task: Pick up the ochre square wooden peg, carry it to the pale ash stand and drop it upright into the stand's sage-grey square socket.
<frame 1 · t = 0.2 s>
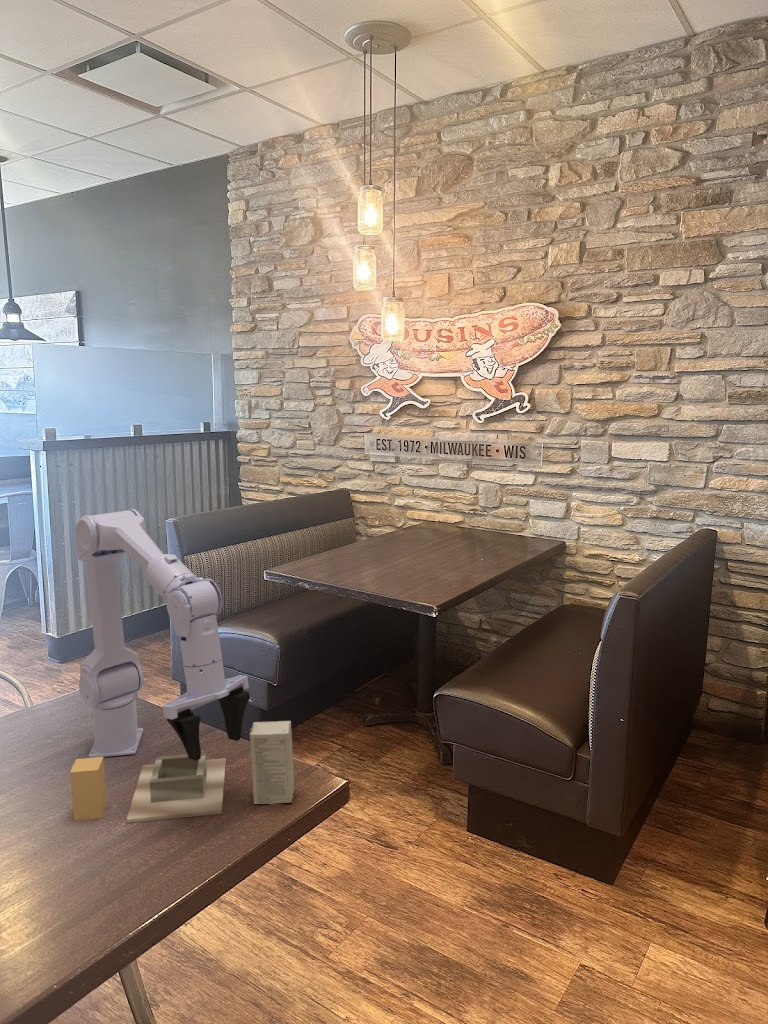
hand: (215, 748, 110), 11 cm above the table, tool pointing down, fingers open, 7 cm apart
socket stand: (180, 789, 118), on the table
peg: (90, 812, 112), on the table
skincare box: (273, 799, 116), on the table
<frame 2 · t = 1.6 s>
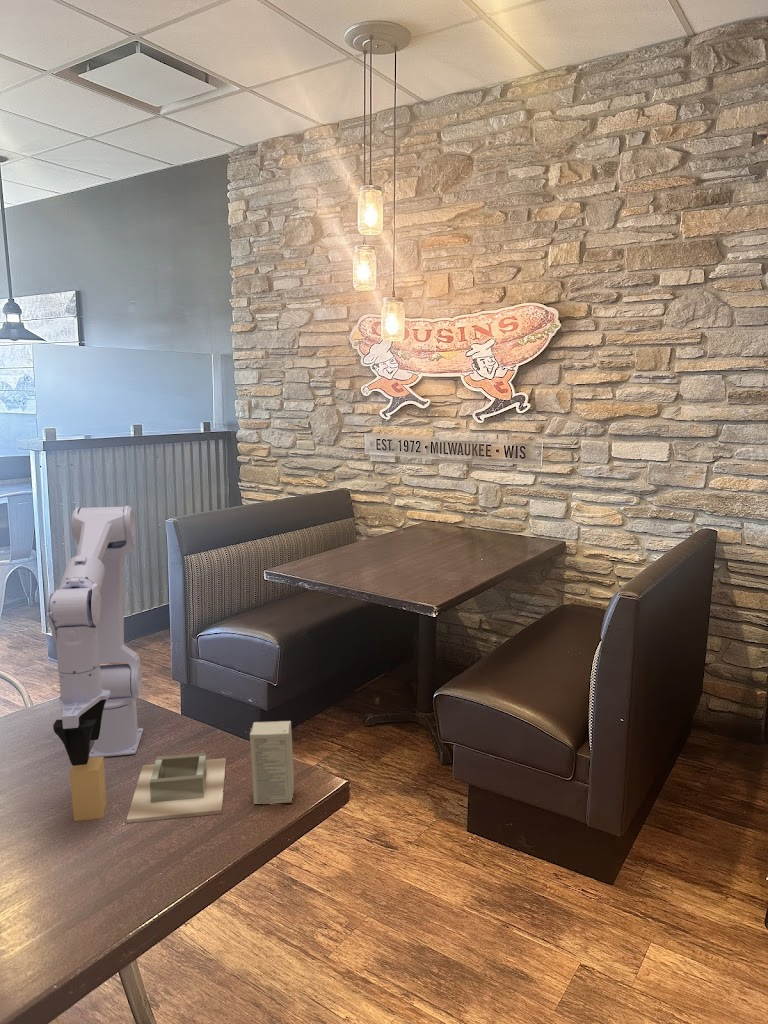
hand: (85, 751, 110), 10 cm above the table, tool pointing down, fingers open, 7 cm apart
nothing on the table moved.
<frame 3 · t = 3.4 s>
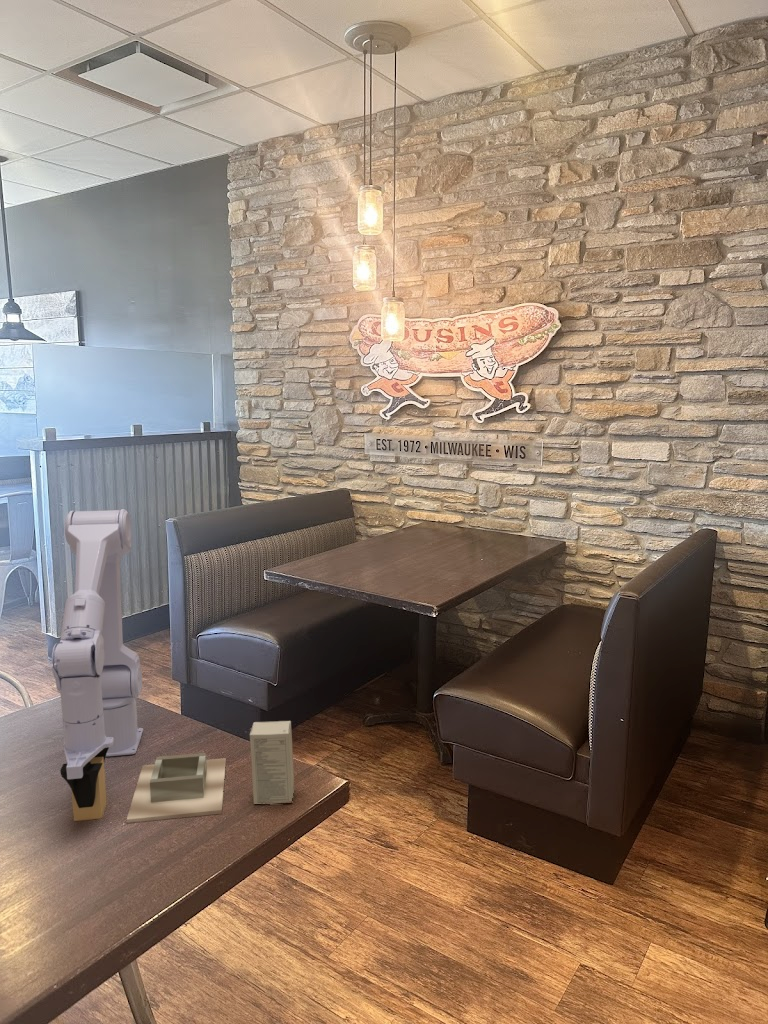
hand: (89, 797, 112), 2 cm above the table, tool pointing down, fingers closed on peg, 4 cm apart
peg: (90, 812, 112), on the table, touching gripper
everything else where it was.
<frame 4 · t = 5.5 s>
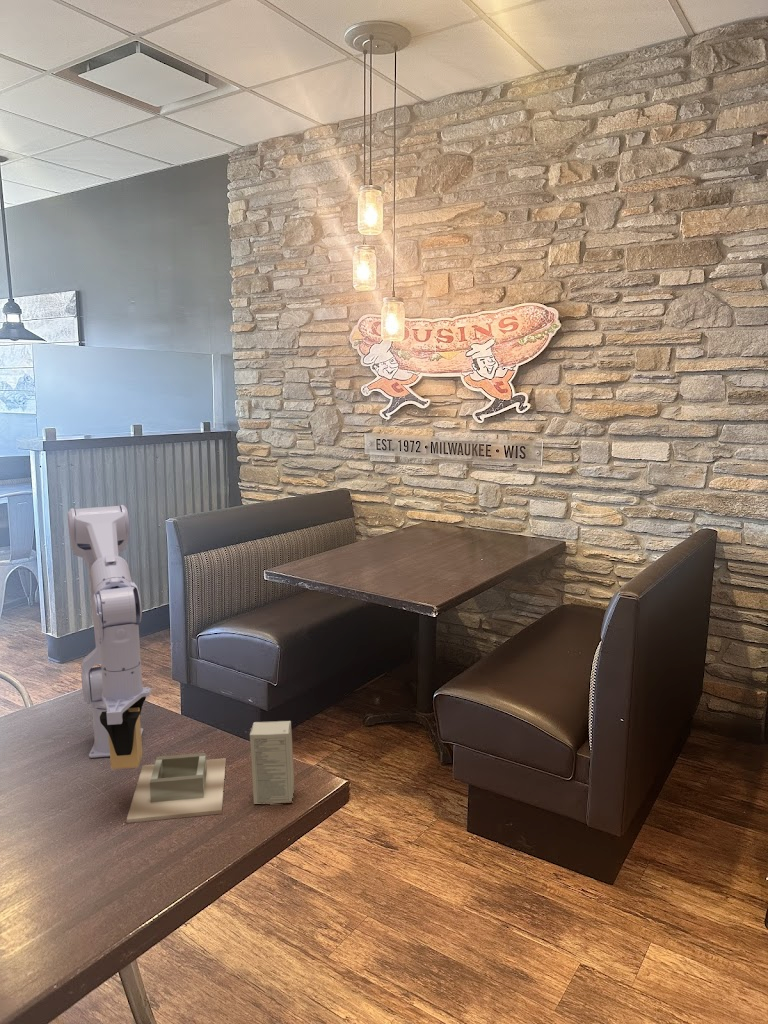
hand: (126, 747, 113), 9 cm above the table, tool pointing down, fingers closed on peg, 4 cm apart
peg: (127, 761, 113), point 7 cm above the table, touching gripper
everything else where it was.
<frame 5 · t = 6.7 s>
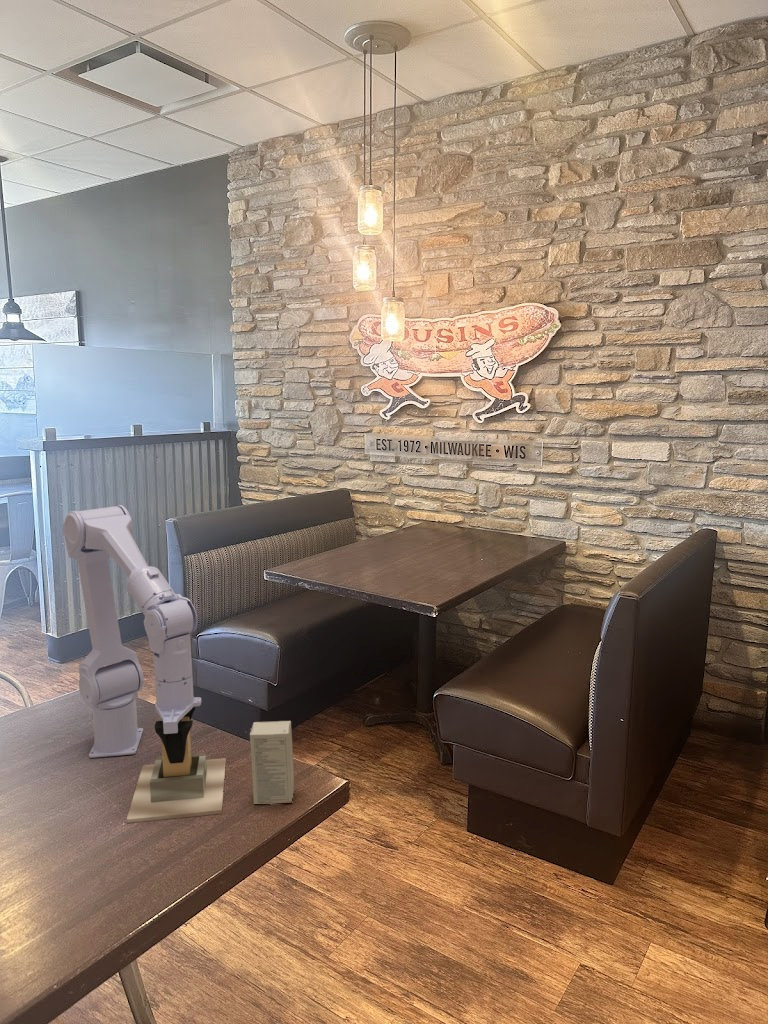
hand: (178, 754, 117), 6 cm above the table, tool pointing down, fingers closed on peg, 4 cm apart
peg: (177, 769, 117), point 4 cm above the table, touching gripper
everything else where it was.
when the fingers open (5 cm above the table, at t = 7.7 s): peg drops 2 cm, resting on socket stand.
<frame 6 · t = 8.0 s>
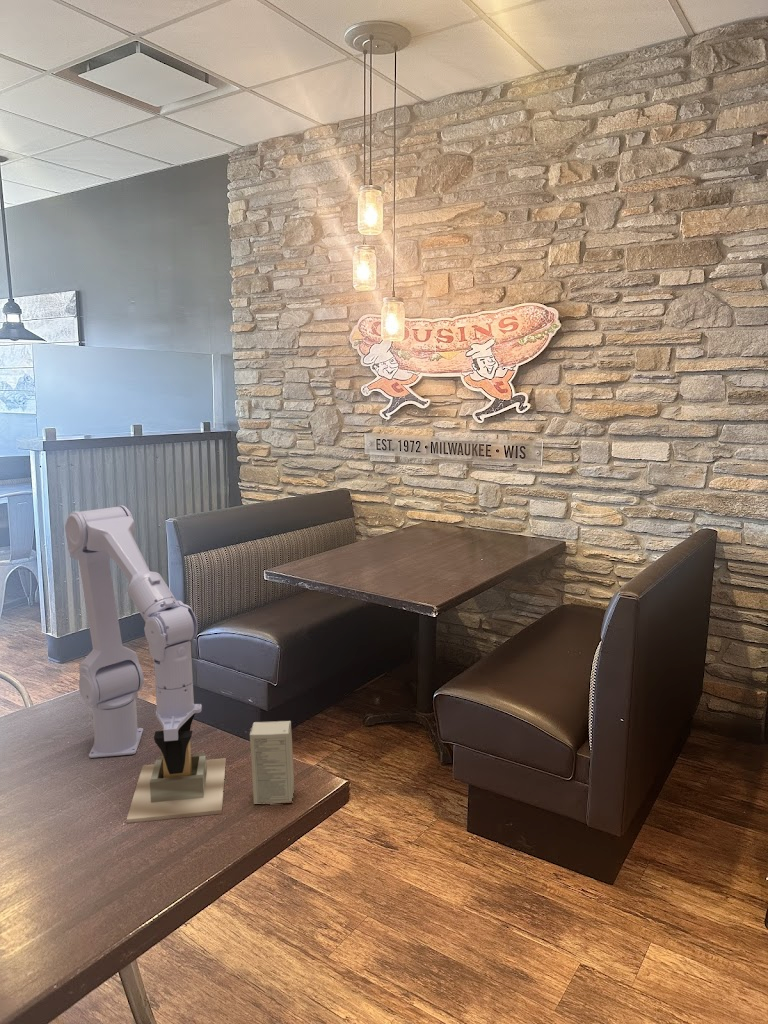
hand: (178, 761, 117), 5 cm above the table, tool pointing down, fingers open, 6 cm apart
peg: (178, 786, 118), point 1 cm above the table, touching socket stand
everything else where it was.
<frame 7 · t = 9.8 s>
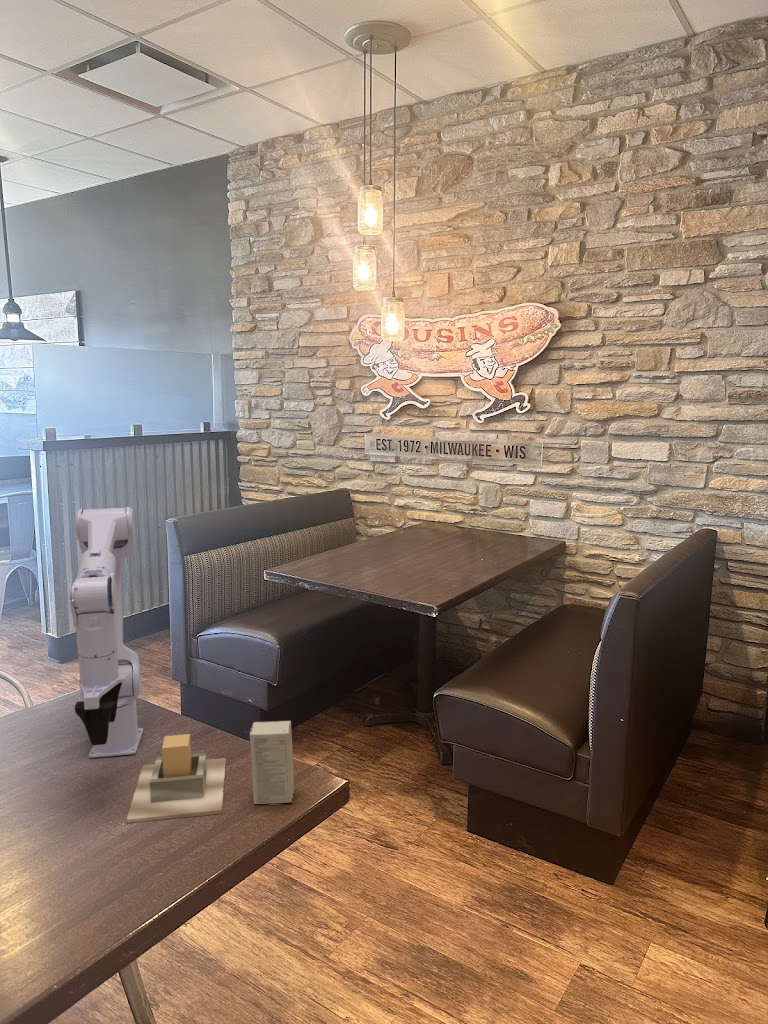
hand: (103, 732, 116), 10 cm above the table, tool pointing down, fingers open, 7 cm apart
nothing on the table moved.
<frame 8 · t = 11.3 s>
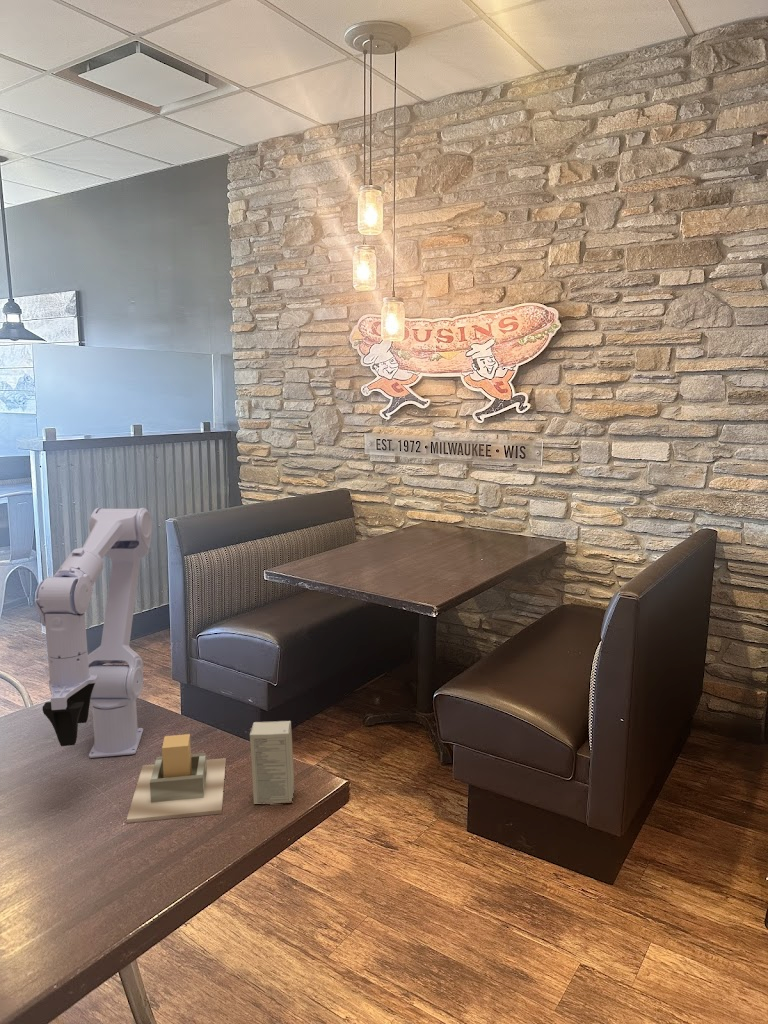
hand: (74, 733, 115), 10 cm above the table, tool pointing down, fingers open, 7 cm apart
nothing on the table moved.
at the end: peg 0.2 cm off-centre on the socket stand, point 0.6 cm above the socket stand's base; peg tilted 0°; the gripper is holding nothing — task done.
